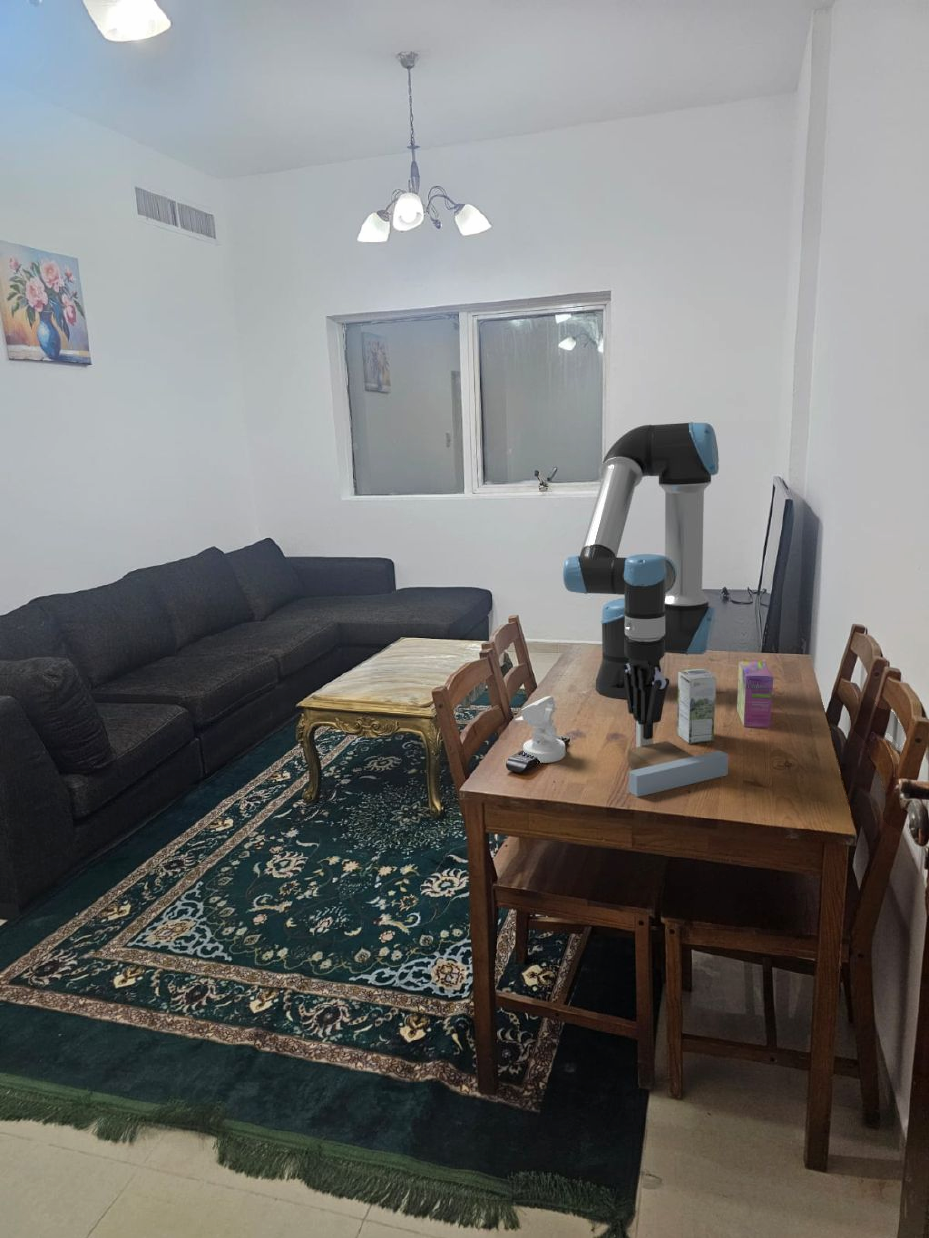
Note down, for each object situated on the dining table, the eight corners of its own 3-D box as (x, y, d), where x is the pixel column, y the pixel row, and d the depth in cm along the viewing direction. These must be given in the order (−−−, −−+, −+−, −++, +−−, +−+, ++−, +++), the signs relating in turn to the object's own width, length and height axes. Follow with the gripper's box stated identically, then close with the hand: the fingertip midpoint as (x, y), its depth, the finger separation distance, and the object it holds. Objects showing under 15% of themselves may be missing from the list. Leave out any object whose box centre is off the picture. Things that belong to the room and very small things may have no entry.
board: (628, 791, 140) (628, 771, 139) (718, 769, 147) (719, 750, 146) (636, 797, 138) (636, 776, 137) (727, 774, 145) (728, 755, 144)
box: (771, 728, 166) (773, 675, 163) (743, 727, 167) (745, 675, 164) (763, 711, 176) (765, 661, 173) (736, 710, 177) (738, 661, 174)
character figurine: (550, 766, 152) (549, 708, 150) (511, 756, 158) (508, 700, 155) (573, 750, 159) (572, 695, 156) (534, 741, 165) (532, 688, 162)
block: (628, 768, 150) (628, 749, 150) (666, 759, 153) (667, 740, 153) (655, 786, 142) (655, 766, 141) (695, 776, 145) (695, 757, 144)
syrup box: (701, 731, 166) (702, 667, 162) (714, 741, 160) (716, 675, 157) (676, 734, 165) (677, 669, 161) (688, 745, 159) (690, 677, 156)
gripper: (609, 631, 151) (609, 744, 157) (647, 647, 139) (647, 768, 145) (641, 626, 154) (641, 737, 159) (682, 641, 142) (680, 760, 147)
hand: (644, 751), depth 152 cm, fingers closed
